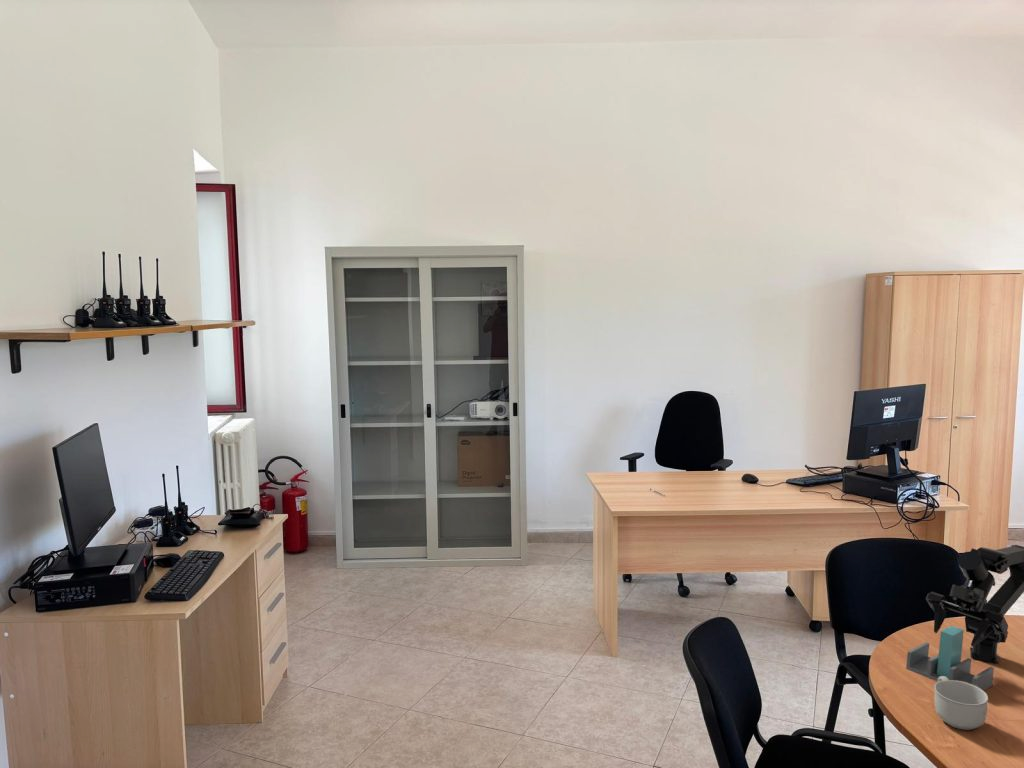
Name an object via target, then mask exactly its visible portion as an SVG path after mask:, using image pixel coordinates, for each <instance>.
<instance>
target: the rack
mask: <svg viewBox="0 0 1024 768" xmlns="http://www.w3.org/2000/svg"><path fill="white" fill-rule="evenodd" d="M929 650H930V642H927V641H925V642H924V643H921V644H920V645H917V646H916V647H913V648H912V649H910V650H908V651H907V655H906V668H905V669H907V670H909V671H910V672H914V673H916V674H918V675H921V676H924V677H926V678H928V679H930V680H933V681H936V682H937V681H938V678H939V677H940V676H939V675H937V668H938V657H939V653H938V654H935V656H932V657H930V656H929V653H930V652H929ZM971 666H972V659H971V657H967V658H965V659H963V660H961V662H960V663H958V664H957V665H955V666H953V667H951V668H950V673H949V680H956V681H962V682H966V683H969V684H972V685H974V686H977V687H978V688H980V689H982V690H983V691H984V692H985V691H986V690H987V689H989V688H990V687H992V686H993V680H994V673H995V672H994V669H995V667H993V666H989V667H987V668H986V669H984V670H982V671H980V672H979V673H978V674H976V675H975V674H972V673H971V668H972V667H971Z"/></svg>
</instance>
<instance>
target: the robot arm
mask: <svg viewBox="0 0 1024 768" xmlns="http://www.w3.org/2000/svg"><path fill="white" fill-rule="evenodd" d="M956 561H957V564H958V566H959V569H960V570H961V572H962V573H963V576H964V577H965V578H966V581H965V583H964V584H962V585H956V584H952V586H951V589H950V593H949V597H952V600H953V602H955V603H953V602H951V601H948V599H947V598H946V596H945V595H943V594H940V593H937V592H935V591H930V592H929V593H927V595H926V596H925V600H926V602H927V604H928V605H929V607H930V608H931V609H932V611H933V613H934V614H933V615H934V617H933V618H934V622H933V624H934V625H933V632H934V634H937V633H938V632H939V631H940V629H941V627H942V625H943V623H944V621H945V619H946V618H947V614H946V613H947V612H948V611H953V612H956V613H959V614H961V615H964V623H965V632H966V633H970V634H973V638H972V640H971V643H970V646H971V647H969V653H970V654H969V655H970V659H971V658H972V659H975V660H980V661H983V662H990V663H992V664H999V663H1000V661H999V657H998V644H1001V643H1003V644H1004V643H1006V641H1007V639H1008V633H1009V632H1008V629H1009V624H1008V622H1007V620H1006V618H1005V615H1006V613H1008V611H1009V610H1010V609H1011V608H1012V606H1014V604H1015V603H1016V602H1017V601H1018V599H1019V598H1020V597H1021V596H1022V595H1023V593H1024V546H1022V545H1018V544H1012V545H1011V546H1008V547H1003V548H998V549H992V548H988V547H981V546H980V547H979V548H977V549H976V548H971V549H970V551H965V552H963V553H961V554H960V555H958V556H957V560H956ZM1007 571H1009V577H1008V578H1007V579H1006V580H1005V581H1004V583H1003V584H1002V585H1001V586H1000V587H999V588H998V589H997V591H996V592H995V593H994V594H993V595H992V596H991V597H990V598H989V599H988V596H989V595H990V591H991V589H992V587H995V586H996V579H995V577H994V575H993V573H994V574H999V575H1002V574H1004V573H1005V572H1007Z"/></svg>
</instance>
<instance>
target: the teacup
mask: <svg viewBox="0 0 1024 768" xmlns="http://www.w3.org/2000/svg"><path fill="white" fill-rule="evenodd" d="M933 688H934V710H935V713H937V716H939V718H940V719H941V720H943V722H945V723H946V724H947V725H948V726H950V727H952V728H956V729H957V730H958V729H959V730H963V731H964V730H965V731H970V730H975V729H977V728H980V727H981V726H983V725H984V724H985V722H986V719H987V715H988V714H987V713H988V712H987V711H988V701H989V696H988V694H987V693H986V692H985V690H984V691H983V690H982V689H980V688H978V687H977V686H974V685H972V684H969V683H966V682H962V681H956V680H949V679H948V678H947V677H945V676H940V677H939V678H938V681H936V683H934V687H933Z"/></svg>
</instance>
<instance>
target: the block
mask: <svg viewBox="0 0 1024 768" xmlns="http://www.w3.org/2000/svg"><path fill="white" fill-rule="evenodd" d="M964 632H965V631H964V629H962V628H960V627H957V626H955V625H950V626H949V627H946V628H944V629H942V630H940V634H939V635H940V636H939V646H938V648H939V649H938V654H939V657H938V668H937V675H939V676H945V677H947V678H948V679H949V673H950V668H951V667H953V666H955V665H957V664H958V663H960V662H962V653H963V652H962V651H963V643H964V642H963V641H964Z"/></svg>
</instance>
